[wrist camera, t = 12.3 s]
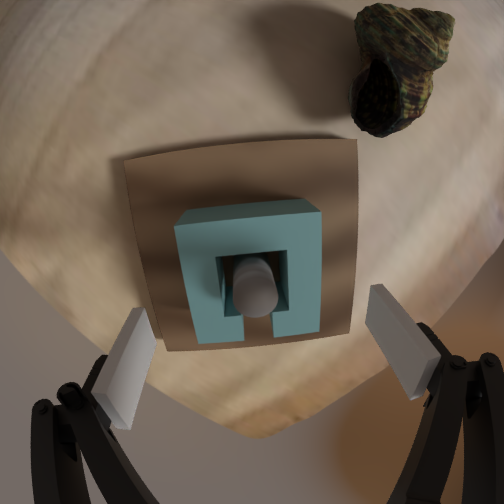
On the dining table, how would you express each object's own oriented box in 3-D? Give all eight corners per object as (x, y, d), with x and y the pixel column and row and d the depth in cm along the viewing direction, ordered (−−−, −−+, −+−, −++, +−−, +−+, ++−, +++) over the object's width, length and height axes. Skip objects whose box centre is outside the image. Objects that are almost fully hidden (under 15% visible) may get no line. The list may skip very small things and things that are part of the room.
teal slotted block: (186, 209, 23) (173, 225, 18) (304, 198, 23) (321, 211, 19) (203, 311, 27) (198, 343, 22) (306, 301, 27) (319, 331, 22)
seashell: (291, 53, 20) (321, 6, 11) (375, 14, 18) (425, -23, 9) (357, 145, 24) (418, 148, 14) (430, 96, 22) (496, 89, 12)
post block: (131, 159, 23) (83, 168, 15) (348, 139, 23) (399, 139, 15) (170, 340, 30) (154, 398, 22) (343, 323, 31) (372, 376, 22)
